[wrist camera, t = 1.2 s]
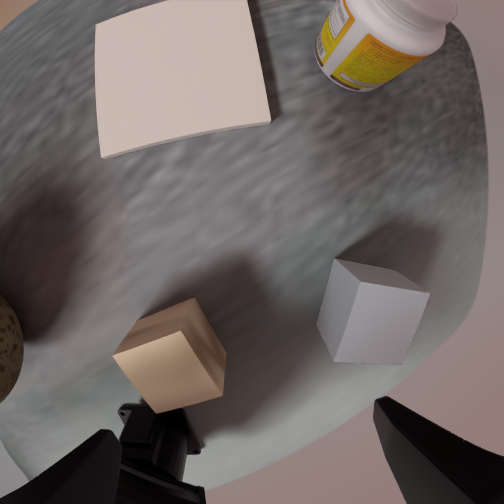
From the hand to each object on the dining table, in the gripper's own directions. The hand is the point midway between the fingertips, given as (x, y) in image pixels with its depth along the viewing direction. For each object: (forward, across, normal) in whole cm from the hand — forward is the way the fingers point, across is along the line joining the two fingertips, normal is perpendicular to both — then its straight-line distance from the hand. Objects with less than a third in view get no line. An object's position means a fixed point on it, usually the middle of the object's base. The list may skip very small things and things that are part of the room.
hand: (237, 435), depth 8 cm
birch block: (+12, +5, +3) cm, 14 cm away
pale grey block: (+12, -8, +2) cm, 15 cm away
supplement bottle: (+13, -10, -15) cm, 22 cm away
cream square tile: (+12, +2, -16) cm, 20 cm away
